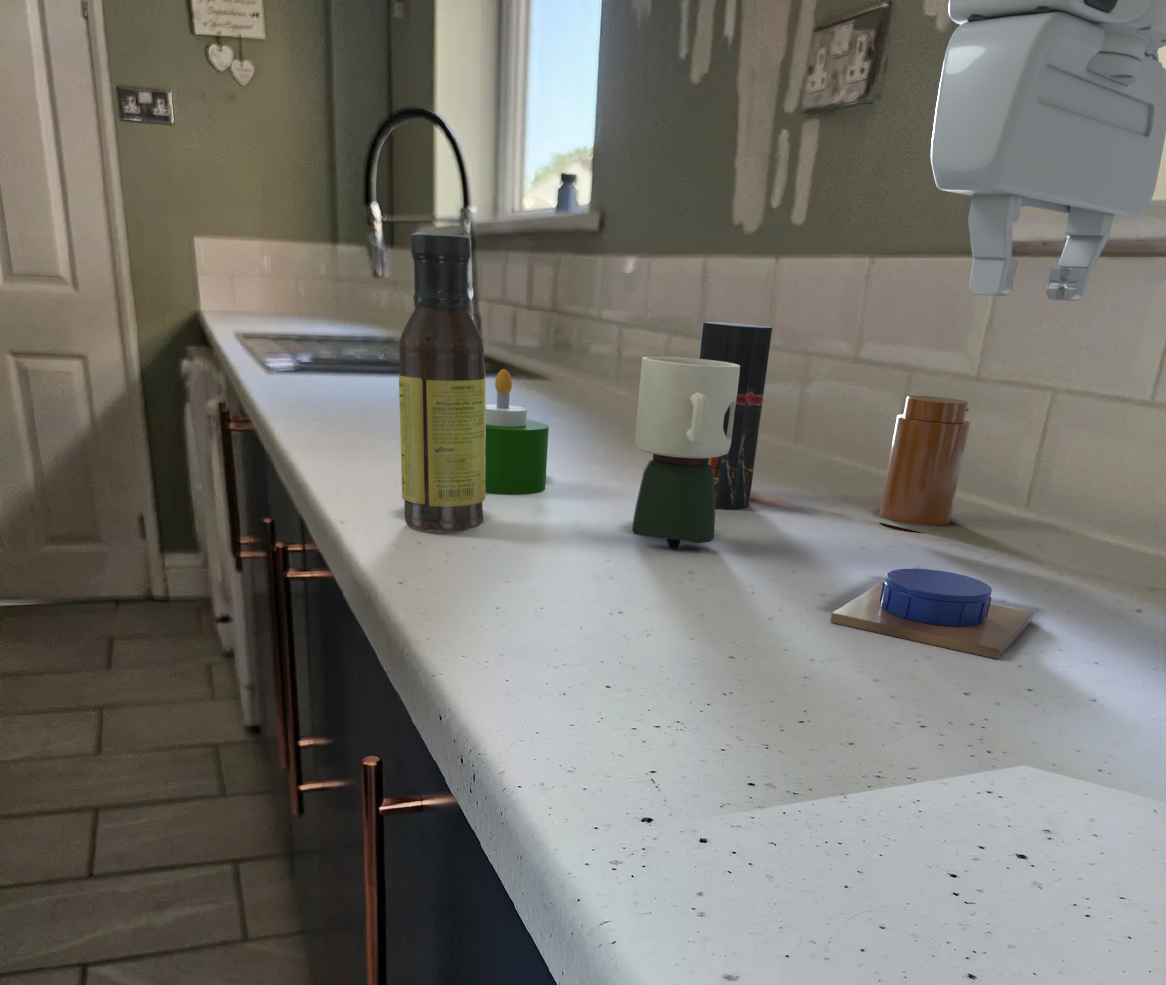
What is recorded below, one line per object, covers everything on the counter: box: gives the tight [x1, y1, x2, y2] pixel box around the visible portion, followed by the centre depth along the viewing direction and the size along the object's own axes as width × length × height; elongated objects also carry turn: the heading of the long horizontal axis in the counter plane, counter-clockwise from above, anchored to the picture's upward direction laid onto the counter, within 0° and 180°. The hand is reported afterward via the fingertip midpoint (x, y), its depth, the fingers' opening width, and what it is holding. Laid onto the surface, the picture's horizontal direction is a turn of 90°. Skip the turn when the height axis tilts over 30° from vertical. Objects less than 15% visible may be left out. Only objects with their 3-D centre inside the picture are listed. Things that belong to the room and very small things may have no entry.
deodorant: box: [698, 321, 773, 510], centre depth 96 cm, size 6×6×15 cm
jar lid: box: [880, 568, 993, 627], centre depth 68 cm, size 6×6×2 cm
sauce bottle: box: [398, 231, 487, 533], centre depth 79 cm, size 6×6×20 cm
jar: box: [878, 395, 972, 535], centre depth 94 cm, size 6×6×11 cm
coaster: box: [830, 581, 1034, 660], centre depth 68 cm, size 10×10×1 cm
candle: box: [485, 368, 550, 496], centre depth 97 cm, size 8×8×10 cm
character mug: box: [631, 355, 740, 547], centre depth 81 cm, size 11×7×13 cm, turn 6°
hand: (1028, 298), depth 62 cm, fingers open, 8 cm apart
